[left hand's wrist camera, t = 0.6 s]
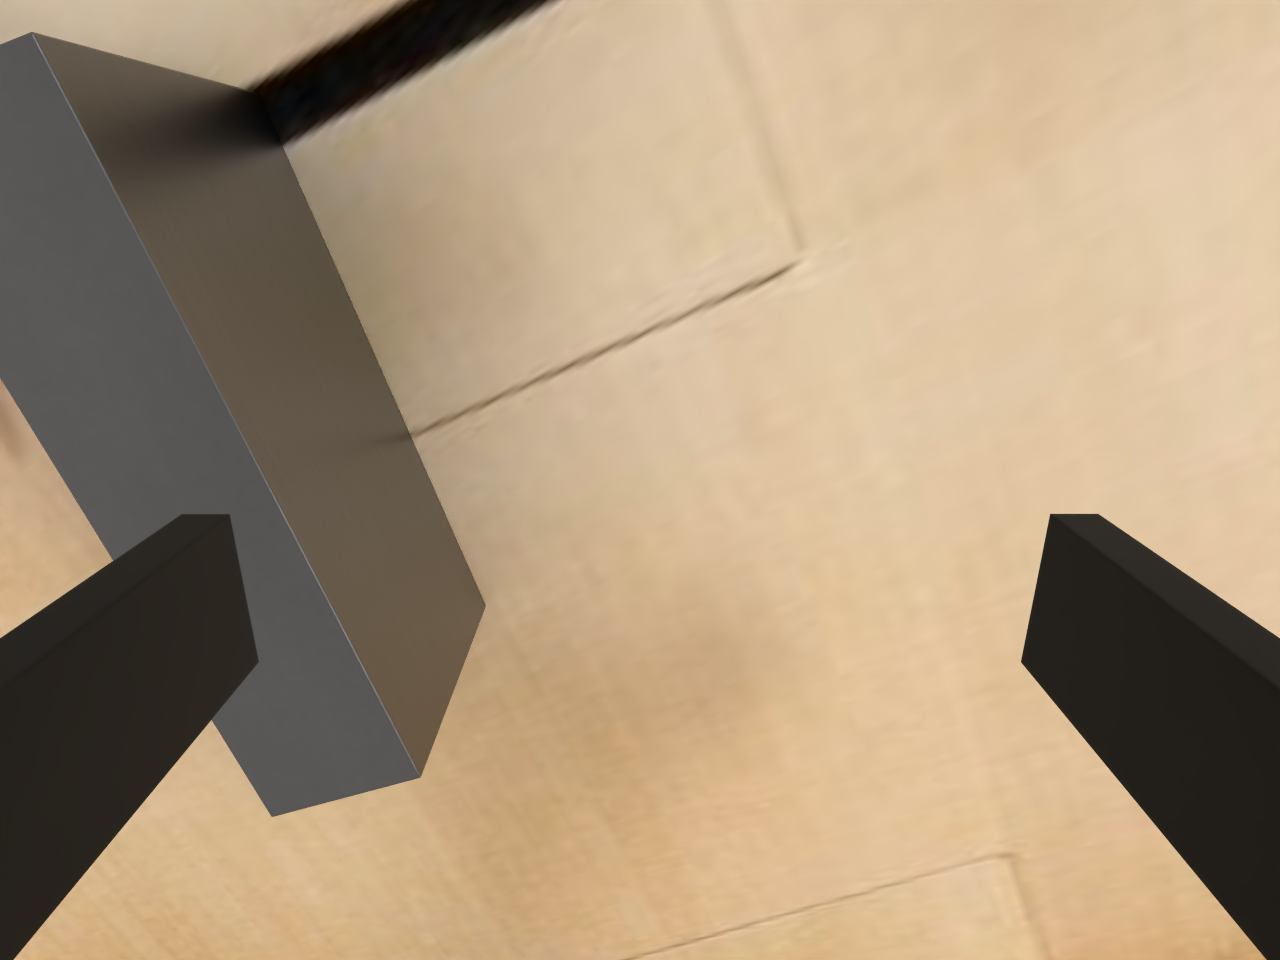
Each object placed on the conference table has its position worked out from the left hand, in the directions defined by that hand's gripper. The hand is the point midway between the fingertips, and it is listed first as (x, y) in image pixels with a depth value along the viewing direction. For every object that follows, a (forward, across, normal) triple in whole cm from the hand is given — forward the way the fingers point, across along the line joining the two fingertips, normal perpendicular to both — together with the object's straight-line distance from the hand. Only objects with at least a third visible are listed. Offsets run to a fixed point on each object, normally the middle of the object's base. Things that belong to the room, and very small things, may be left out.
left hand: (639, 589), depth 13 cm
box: (+24, -15, -3) cm, 28 cm away
